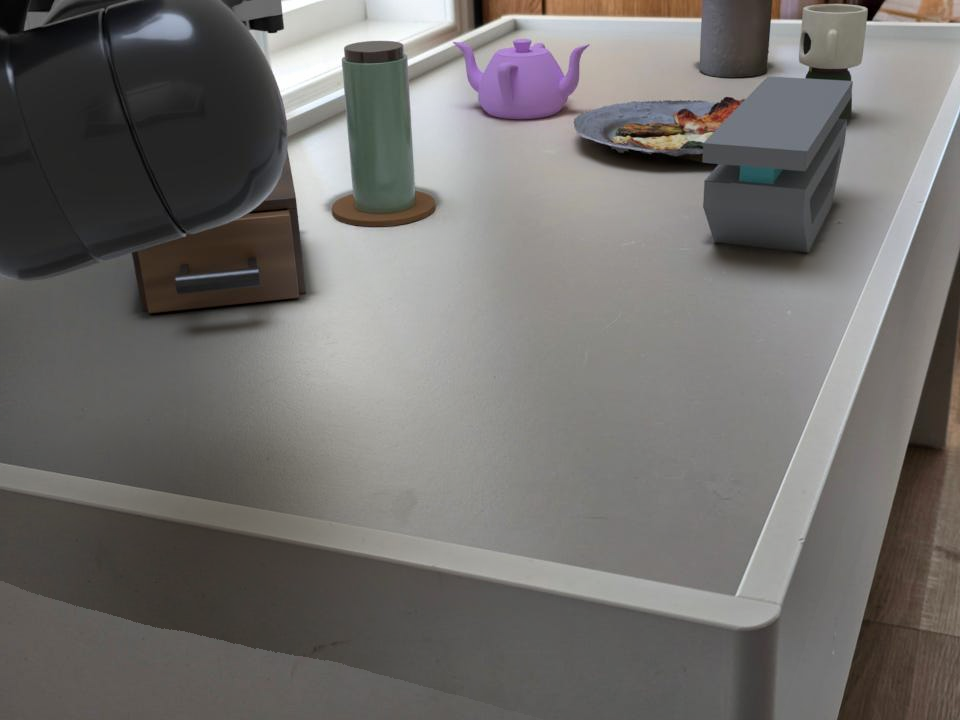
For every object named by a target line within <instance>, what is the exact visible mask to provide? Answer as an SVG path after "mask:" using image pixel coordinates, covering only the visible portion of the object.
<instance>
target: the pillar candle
mask: <svg viewBox="0 0 960 720" xmlns="http://www.w3.org/2000/svg"><path fill="white" fill-rule="evenodd" d="M701 4H702V5H701V6H702V7H701V21H700V22H701V24H700V41H699V42H700V46H699V65H698V67H699V68H698V69H699V71H700V72H702V73H703V74H704V75H707V76H711V77H717V78H746V77H755V76H761V75H764V74H766V73H768V60H769V53H770V51H769V48H770V37H771V36H770V35H771V24H772V11H773V9H772V8H773V0H702V3H701Z"/></svg>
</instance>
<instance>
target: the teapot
mask: <svg viewBox="0 0 960 720" xmlns="http://www.w3.org/2000/svg"><path fill="white" fill-rule="evenodd" d="M452 43H453V44H454V45H455V46H456V47H457V48H459V50H460V51H461V52H462V55H463V57H464V62H465V72H466V78H467V81H468V83H469V85H470V87H471V88H472V89H473V90H474V91H475V92H476V93H477V101H478V104H479V105H480V106H481V108H482V109H483V110H484V111H485V112H486V113H487V114H488V115H489V116H492V117H495V118H497V119H505V120H534V119H540V118H542V119H543V118H547V117H551V116H554V115H556V114H558V113H559V112H560V111H561V110H562V109H563V107H564V106H565V105H566V103H567V102H568V99H569V97H570V96H571V95H572V94H573V93H574V92H575V91H576V89H577V87H578V85H579V80H580V63H581V57H582V54H583V53H584V52H585V50H586V49H587V48H588V47H590V45H591V44H585V45H581V46H578V47H575V48H574V49H573V50H572V51H571V53H570V56H569V60H568V61H569V62H568V69H567V72H566V74H565V75H564V72H563V70H562V68H561V66H560V65H559V63H558V61H557V60H556V59H555V57H554V55H553V54H552V52H551V51H550V50H549V49H548V48H546V45H545V44H544V43H543V42H536V43H534V44H533V45H532V40H531V39H530V38H517V39H513V41H512V43H513V46H512V47H504V48H501V49H498V50H497V51H496V52H494V54H493V55H492V56H491V59H490V60H489V62H488V63H487V65H486V68H485V69H484V71H483V72H482V71H481V70H480V69H479V67H478V65H477V62H476V61H477V60H476V57H475V54H474V51H473V48H472V47H471V46H470V45H468V44H466V43H464V42H459V41H453V42H452ZM531 45H532V46H531Z"/></svg>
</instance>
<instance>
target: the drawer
mask: <svg viewBox="0 0 960 720" xmlns="http://www.w3.org/2000/svg"><path fill="white" fill-rule="evenodd" d="M138 255H139V261H140V266H141V272H142V278H143V283H144V289H145V295H146V301H147V306H148V314H156V313H165V312H166V313H167V312H175V311H184V310H194V309H203V308H204V309H205V308H212V307H223V306H232V305H241V304H251V303H260V302H271V301H279V300H288V299H298V298H300V295H299V291H298V282H297V273H296V264H295V255H294V246H293V237H292V228H291V219H290V212H289V210H285V211H280V209H275V210H264V211H253V212H249V213H248V214H246V215H244V216H242V217H241V218H238V219H236V220H234V221H232V222H230V223H227V224H224V225H221V226H218V227H215V228H212V229H209V230H205V231H202V232H199V233H195V234H188V233H187V235H186V237H182V238H179V239H176V240H172V241H169V242H166V243H162V244H159V245H156V246H152V247H149V248H146V249H143V250H139V251H138Z"/></svg>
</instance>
